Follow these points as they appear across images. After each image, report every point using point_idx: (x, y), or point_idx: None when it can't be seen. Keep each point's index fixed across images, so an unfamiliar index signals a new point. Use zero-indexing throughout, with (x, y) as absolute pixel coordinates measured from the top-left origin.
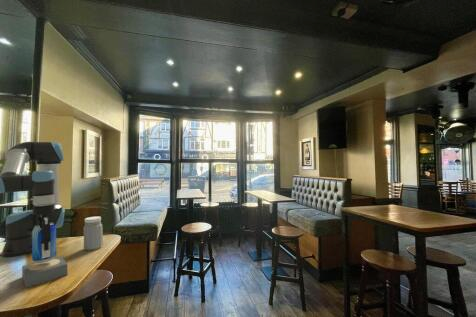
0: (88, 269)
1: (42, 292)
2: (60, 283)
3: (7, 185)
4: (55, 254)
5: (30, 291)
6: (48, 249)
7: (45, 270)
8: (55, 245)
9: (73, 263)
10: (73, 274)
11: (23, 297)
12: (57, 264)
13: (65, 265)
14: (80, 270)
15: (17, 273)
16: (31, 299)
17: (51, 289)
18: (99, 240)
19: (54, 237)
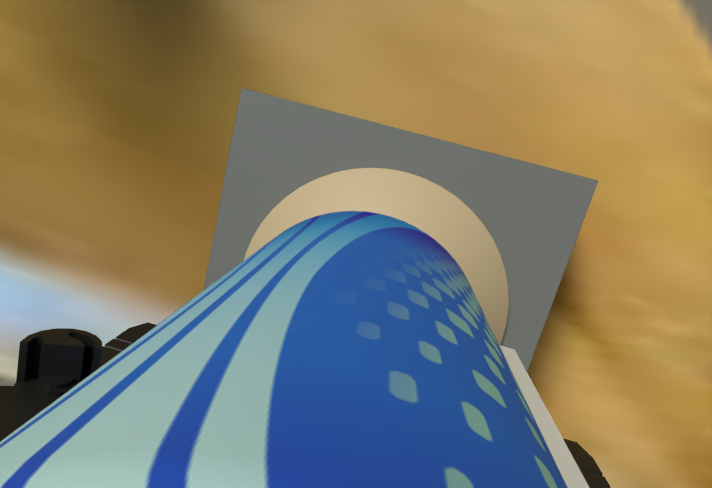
0: (645, 4)
1: (673, 404)
2: (664, 280)
3: None
4: (447, 254)
5: (562, 429)
6: (584, 451)
7: (530, 359)
8: (460, 290)
9: (324, 2)
10: (601, 140)
11: (610, 483)
12: (498, 238)
13: (588, 196)
14: (581, 59)
15: (104, 340)
16: (701, 475)
17: (696, 357)
18: None
19: (519, 403)
